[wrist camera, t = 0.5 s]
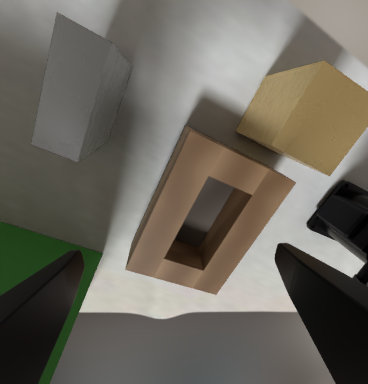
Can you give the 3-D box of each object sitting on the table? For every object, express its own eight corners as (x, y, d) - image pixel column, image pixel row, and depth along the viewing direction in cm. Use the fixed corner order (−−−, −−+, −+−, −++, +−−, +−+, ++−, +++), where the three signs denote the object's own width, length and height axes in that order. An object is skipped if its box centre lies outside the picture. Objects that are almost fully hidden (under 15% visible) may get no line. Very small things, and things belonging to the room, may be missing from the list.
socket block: (272, 168, 21) (296, 182, 17) (208, 267, 25) (216, 294, 22) (185, 125, 18) (190, 130, 15) (131, 243, 23) (125, 269, 19)
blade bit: (132, 66, 16) (111, 42, 10) (107, 141, 18) (77, 162, 12) (101, 49, 16) (56, 12, 9) (79, 129, 18) (31, 144, 11)
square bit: (308, 103, 19) (384, 103, 12) (277, 153, 20) (329, 176, 14) (265, 76, 17) (324, 60, 11) (235, 131, 19) (271, 145, 13)
